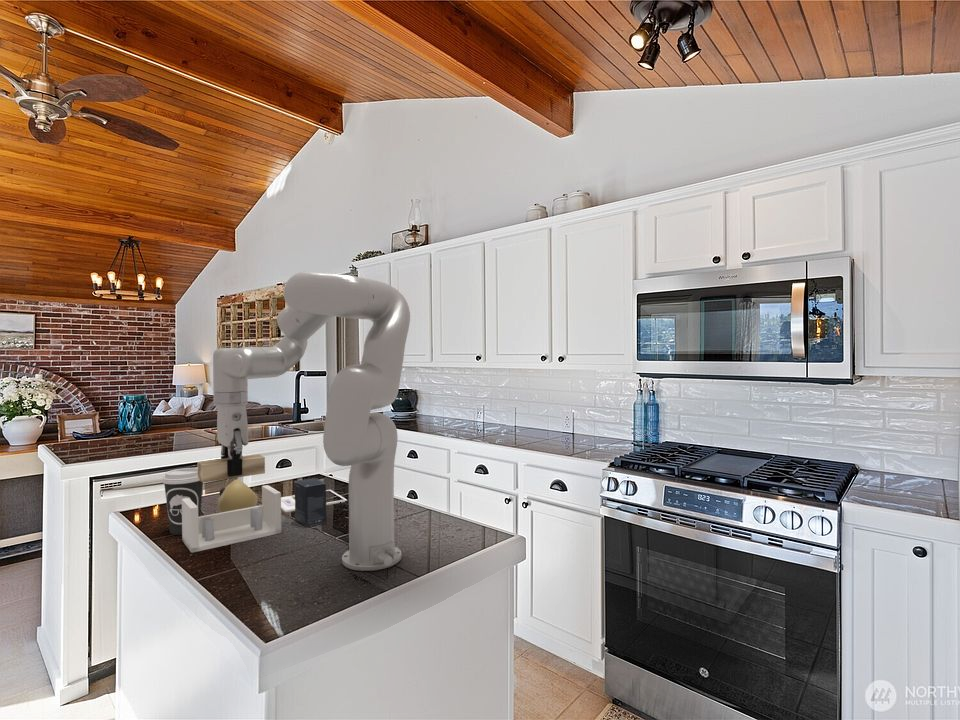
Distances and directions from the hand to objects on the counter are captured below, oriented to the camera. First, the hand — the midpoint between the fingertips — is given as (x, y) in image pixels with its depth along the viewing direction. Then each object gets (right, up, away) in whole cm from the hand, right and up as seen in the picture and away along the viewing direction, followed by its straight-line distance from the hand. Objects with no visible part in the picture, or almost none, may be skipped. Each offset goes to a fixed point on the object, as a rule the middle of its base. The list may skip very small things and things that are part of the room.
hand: (231, 472), depth 129 cm
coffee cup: (-14, -16, +5) cm, 22 cm away
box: (+15, -16, +12) cm, 25 cm away
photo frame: (+9, -16, +31) cm, 36 cm away
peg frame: (0, -16, 0) cm, 16 cm away
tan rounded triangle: (-6, -16, +15) cm, 22 cm away
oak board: (0, -1, 0) cm, 1 cm away
